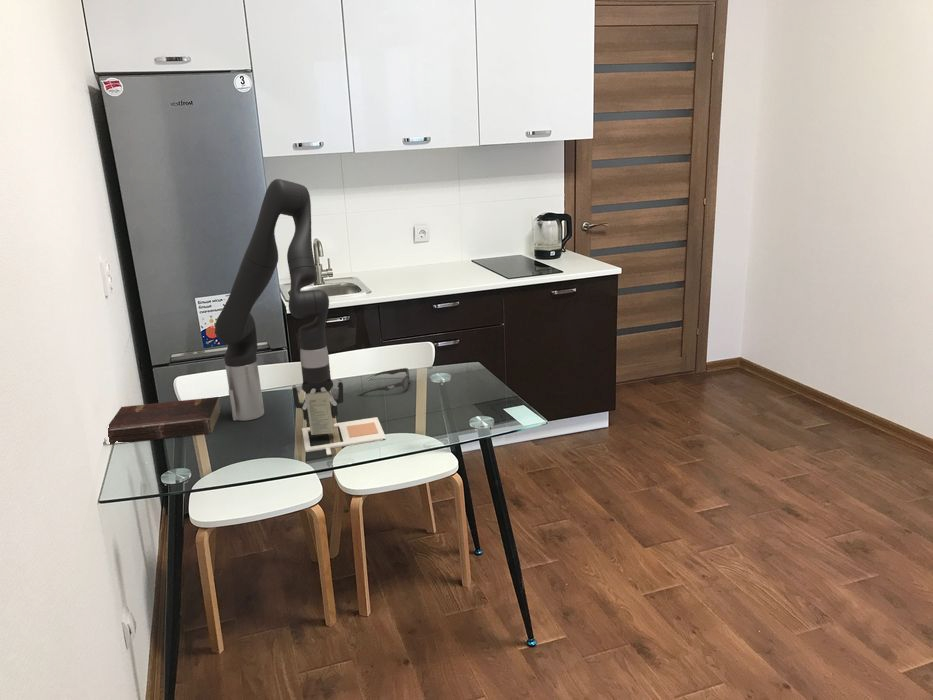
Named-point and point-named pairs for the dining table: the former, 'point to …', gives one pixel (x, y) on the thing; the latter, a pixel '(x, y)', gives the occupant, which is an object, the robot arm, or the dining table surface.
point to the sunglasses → (403, 383)
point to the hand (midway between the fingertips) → (321, 418)
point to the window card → (350, 434)
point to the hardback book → (164, 420)
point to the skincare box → (320, 413)
